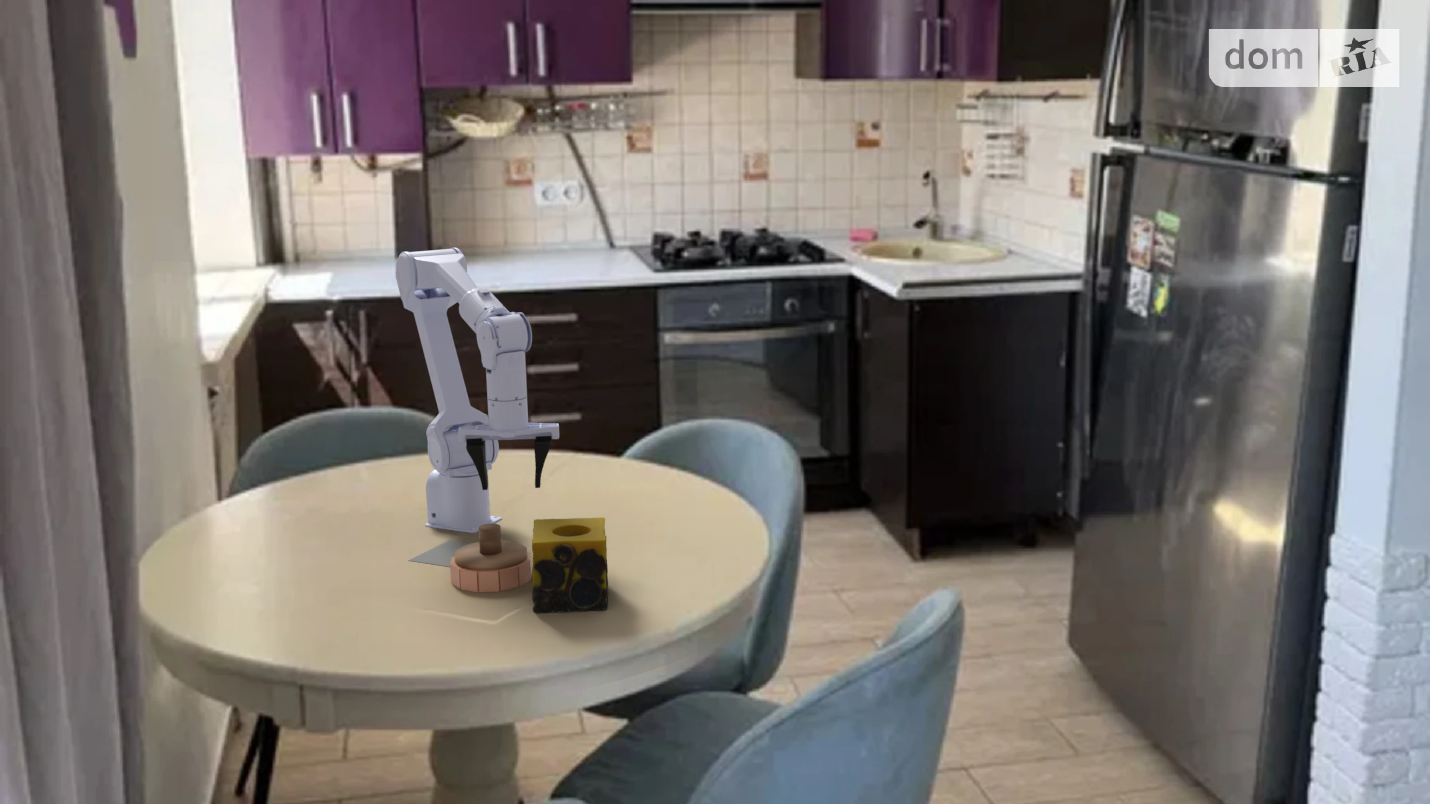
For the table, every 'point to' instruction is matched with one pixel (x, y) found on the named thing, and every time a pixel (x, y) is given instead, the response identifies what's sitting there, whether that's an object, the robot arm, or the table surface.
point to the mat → (440, 554)
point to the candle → (569, 565)
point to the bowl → (491, 577)
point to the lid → (490, 551)
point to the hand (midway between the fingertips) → (511, 487)
